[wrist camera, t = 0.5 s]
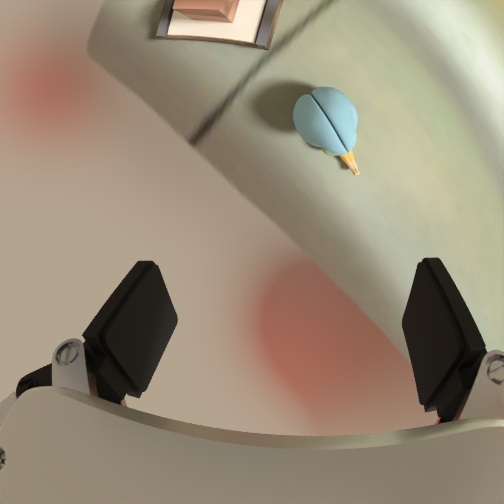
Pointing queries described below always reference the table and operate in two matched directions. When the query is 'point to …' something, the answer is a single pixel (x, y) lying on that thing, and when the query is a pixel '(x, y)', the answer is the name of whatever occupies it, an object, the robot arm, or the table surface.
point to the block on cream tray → (218, 19)
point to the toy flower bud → (328, 123)
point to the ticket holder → (261, 42)
